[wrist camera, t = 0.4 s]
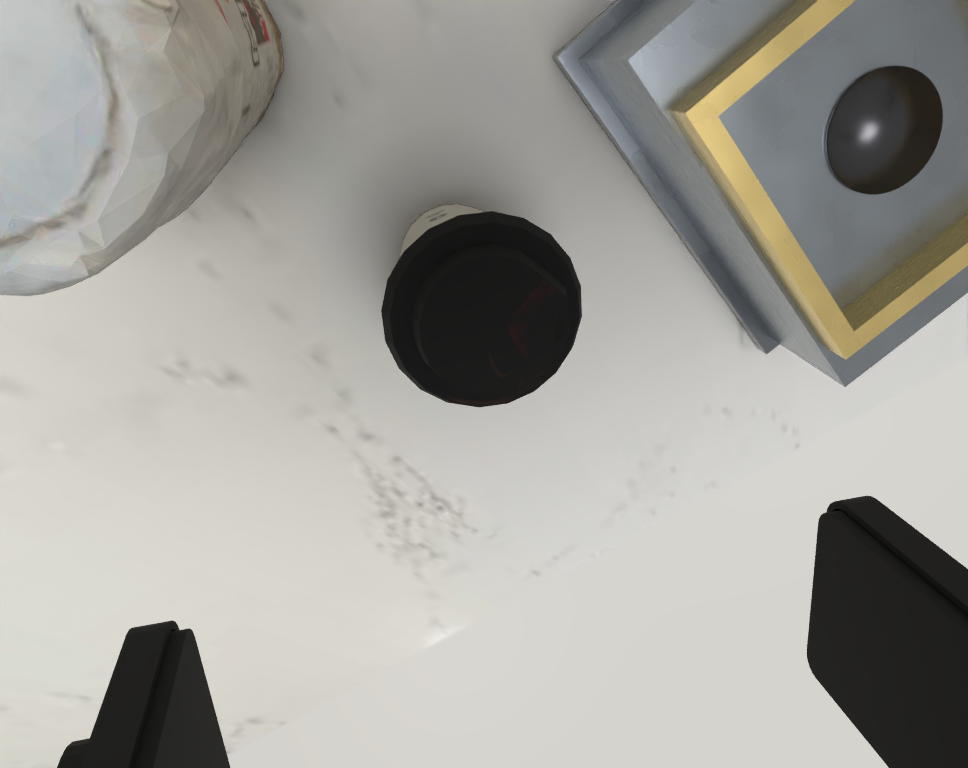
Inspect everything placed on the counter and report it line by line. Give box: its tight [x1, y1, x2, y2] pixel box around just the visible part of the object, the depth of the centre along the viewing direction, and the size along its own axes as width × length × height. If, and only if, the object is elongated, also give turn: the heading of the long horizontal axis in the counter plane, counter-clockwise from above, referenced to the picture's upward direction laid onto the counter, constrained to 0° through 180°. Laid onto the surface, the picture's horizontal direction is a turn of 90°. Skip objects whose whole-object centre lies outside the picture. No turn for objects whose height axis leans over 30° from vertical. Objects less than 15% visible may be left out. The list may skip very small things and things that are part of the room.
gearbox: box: [553, 0, 968, 387], centre depth 31 cm, size 17×15×8 cm
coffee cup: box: [381, 204, 582, 407], centre depth 30 cm, size 7×7×10 cm
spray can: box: [0, 0, 284, 296], centre depth 21 cm, size 8×8×20 cm
